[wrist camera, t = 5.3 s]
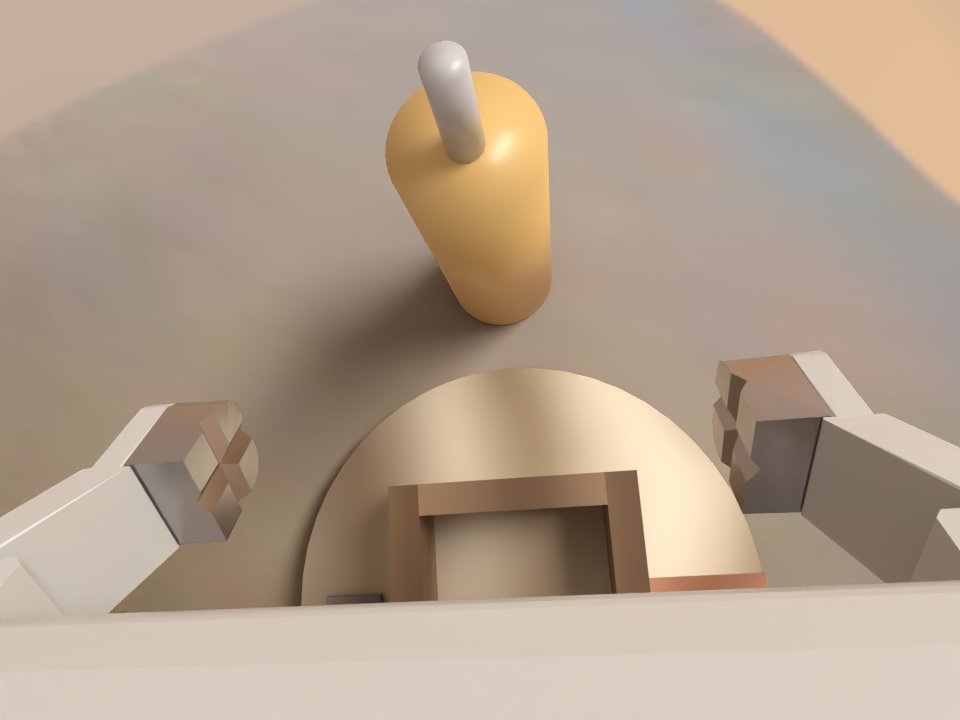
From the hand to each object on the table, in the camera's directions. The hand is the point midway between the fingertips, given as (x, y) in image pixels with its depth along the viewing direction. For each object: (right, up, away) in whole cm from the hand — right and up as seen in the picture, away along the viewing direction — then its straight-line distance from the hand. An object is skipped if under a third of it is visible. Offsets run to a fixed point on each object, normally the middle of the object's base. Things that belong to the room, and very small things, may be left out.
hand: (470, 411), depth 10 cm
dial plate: (+2, -8, +12) cm, 14 cm away
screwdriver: (+1, +4, +14) cm, 15 cm away
